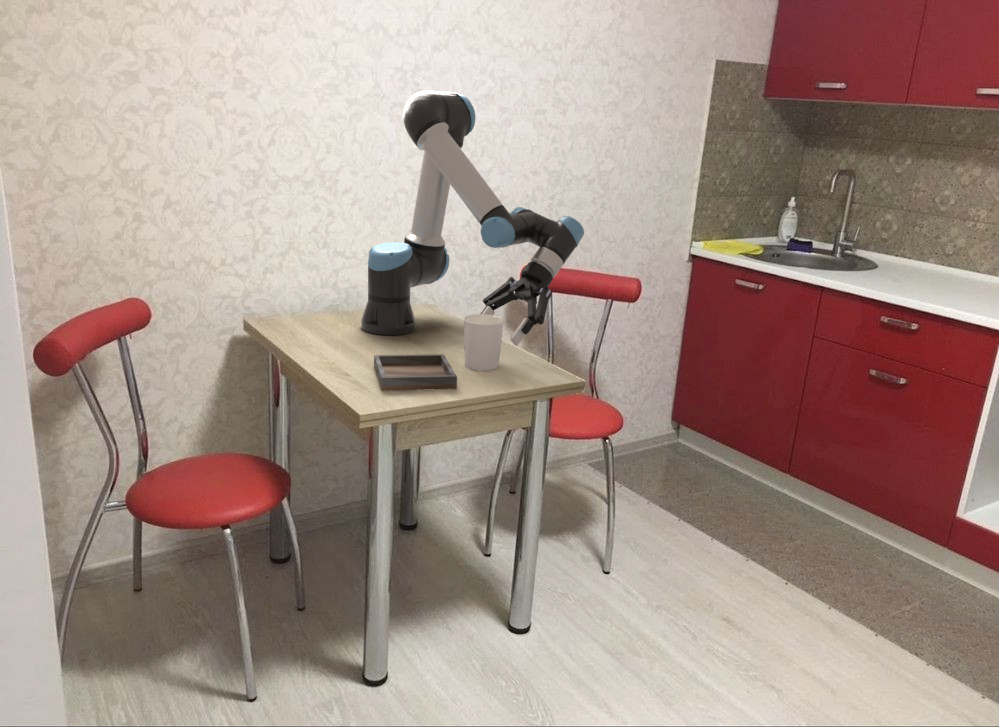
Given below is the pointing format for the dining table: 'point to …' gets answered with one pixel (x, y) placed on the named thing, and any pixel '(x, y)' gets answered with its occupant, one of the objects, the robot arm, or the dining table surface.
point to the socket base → (414, 372)
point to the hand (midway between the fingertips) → (494, 335)
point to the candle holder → (482, 341)
